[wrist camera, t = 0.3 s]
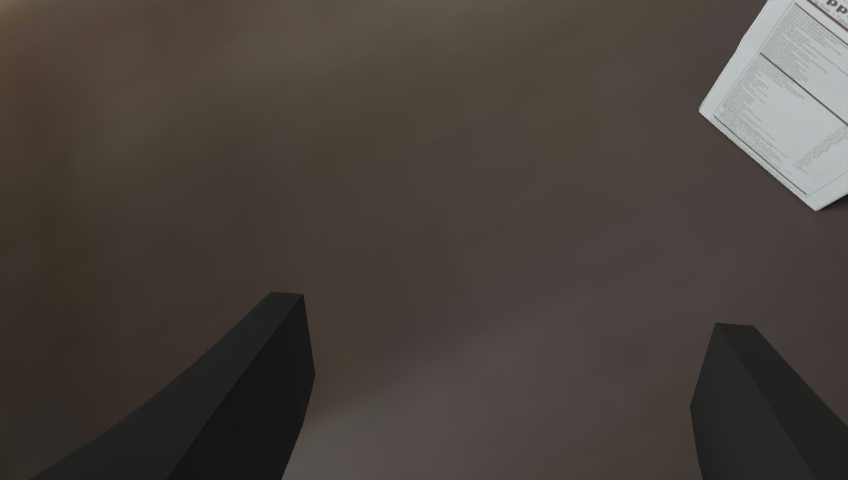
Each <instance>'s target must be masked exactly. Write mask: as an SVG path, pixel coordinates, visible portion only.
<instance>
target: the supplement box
mask: <svg viewBox="0 0 848 480" xmlns="http://www.w3.org/2000/svg"><path fill="white" fill-rule="evenodd" d="M699 112H700V113H701V114H702V115H703V116H704V117H705V118H707V119H708V120H709V121H710V122H711V123H712V124H713V125H715V126H716V127H717V128H718V129H719V130H720V131H722V132H723V133H724V134H725V135H726V136H727V137H729V138H730V139H731V140H732V141H733V142H734V143H736V144H737V145H738V146H739V147H740V148H742V149H743V150H744V151H745V152H746V153H747V154H749V155H750V156H751V157H752V158H753V159H755V160H756V161H757V162H758V163H759V164H760V165H762V166H763V167H764V168H765V169H766V170H767V171H769V172H770V173H771V174H772V175H773V176H774V177H776V178H777V179H778V180H779V181H780V182H782V183H783V184H784V185H785V186H786V187H787V188H789V189H790V190H791V191H792V192H793V193H794V194H796V195H797V196H798V197H799V198H800V199H801V200H803V201H804V202H805V203H806V204H807V205H808V206H810V207H811V208H812V209H813V210H815V211H819V210H820V209H822V208H823V207H825V206H827V205H829V204H830V203H832V202H834V201H836V200H838V199H839V198H841V197H843V196H845V195H846V194H848V0H768V1H767V3H766V4H765V6H764V8H763V9H762V11H761V12H760V14H759V15H758V17H757V18H756V20H755V21H754V23H753V24H752V25H751V27H750V28H749V30H748V32H747V33H746V34H745V36H744V37H743V38H742V40H741V42H740V44H739V46H738V48H737V50H736V52H735V54H734V55H733V57H732V58H731V59H730V61H729V62H728V64H727V66H726V67H725V69H724V70H723V72H722V73H721V75H720V76H719V78H718V79H717V81H716V83H715V84H714V86H713V87H712V89H711V91H710V92H709V94H708V95H707V96H706V98H705V100H704V101H703V103H702V105H701V106H700V108H699Z"/></svg>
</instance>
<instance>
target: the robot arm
mask: <svg viewBox="0 0 848 480" xmlns="http://www.w3.org/2000/svg"><path fill="white" fill-rule="evenodd" d="M314 378H315V369H314V363H313V356H312V349H311V343H310V336H309V329H308V323H307V316H306V309H305V303H304V296H303V294H295V293H281V292H270V293H269V294H268V295H267V296H266V297H265V298H264V299H263V300H261V301H260V302H259V303H258V304H257V305H256V306H255V307H254V308H253V309H252V310H251V311H249V312H248V313H247V314H246V315H245V316H244V317H243V318H242V319H241V320H240V321H239V322H238V323H237V324H236V325H235V326H234V327H232V328H231V329H230V330H229V331H228V332H227V333H226V334H225V335H224V336H223V337H222V338H221V339H220V340H218V341H217V342H216V343H215V344H214V345H213V346H212V347H211V348H210V349H208V350H207V351H206V352H205V353H204V354H203V355H202V356H201V357H200V358H198V359H197V360H196V361H195V362H194V363H193V364H192V365H191V366H189V367H188V368H187V369H186V370H185V371H184V372H182V373H181V374H180V375H179V376H178V377H176V378H175V379H174V380H173V381H172V382H170V383H169V384H168V385H167V386H165V387H164V388H163V389H162V390H161V391H159V392H158V393H157V394H156V395H154V396H153V397H152V398H151V399H150V400H148V401H147V402H146V403H145V404H143V405H142V406H141V407H139V408H138V409H137V410H135V411H134V412H133V413H131V414H130V415H128V416H127V417H126V418H124V419H123V420H122V421H120V422H119V423H117V424H116V425H114V426H113V427H112V428H110V429H109V430H107V431H106V432H104V433H103V434H101V435H100V436H99V437H97V438H96V439H94V440H93V441H91V442H90V443H88V444H87V445H85V446H84V447H82V448H80V449H79V450H77V451H76V452H74V453H72V454H71V455H69V456H67V457H66V458H64V459H62V460H61V461H59V462H57V463H56V464H54V465H53V466H51V467H49V468H48V469H46V470H44V471H43V472H41V473H39V474H38V475H36V476H34V477H33V478H31V479H30V480H281V479H282V477H283V474H284V472H285V469H286V466H287V464H288V461H289V459H290V456H291V454H292V451H293V449H294V446H295V443H296V441H297V438H298V436H299V433H300V430H301V428H302V425H303V422H304V418H305V414H306V410H307V407H308V403H309V399H310V395H311V391H312V387H313V382H314ZM690 409H691V417H692V424H693V431H694V438H695V444H696V450H697V456H698V462H699V466H700V470H701V473H702V477H703V480H848V426H847V425H846V424H845V423H844V422H843V421H842V420H841V419H840V418H839V417H838V416H837V415H836V414H835V413H834V412H833V411H832V410H831V409H830V408H829V407H828V406H827V405H826V404H825V403H824V402H823V401H822V400H821V399H820V398H819V397H818V396H817V395H816V393H815V392H814V391H813V390H812V389H811V388H810V387H809V386H808V385H807V384H806V383H805V382H804V381H803V380H802V378H801V377H800V376H799V375H798V374H797V373H796V372H795V371H794V370H793V369H792V368H791V366H790V365H789V364H788V363H787V362H786V361H785V360H784V359H783V358H782V357H781V355H780V354H779V353H778V352H777V351H776V350H775V349H774V348H773V347H772V346H771V344H770V343H769V342H768V341H767V340H766V339H765V338H764V337H763V336H762V335H761V334H760V333H759V331H758V330H757V329H756V328H755V327H754V326H751V325H737V324H722V323H715V325H714V329H713V332H712V335H711V339H710V342H709V345H708V349H707V352H706V355H705V359H704V362H703V365H702V369H701V372H700V375H699V379H698V382H697V385H696V389H695V392H694V395H693V399H692V402H691V405H690Z"/></svg>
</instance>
